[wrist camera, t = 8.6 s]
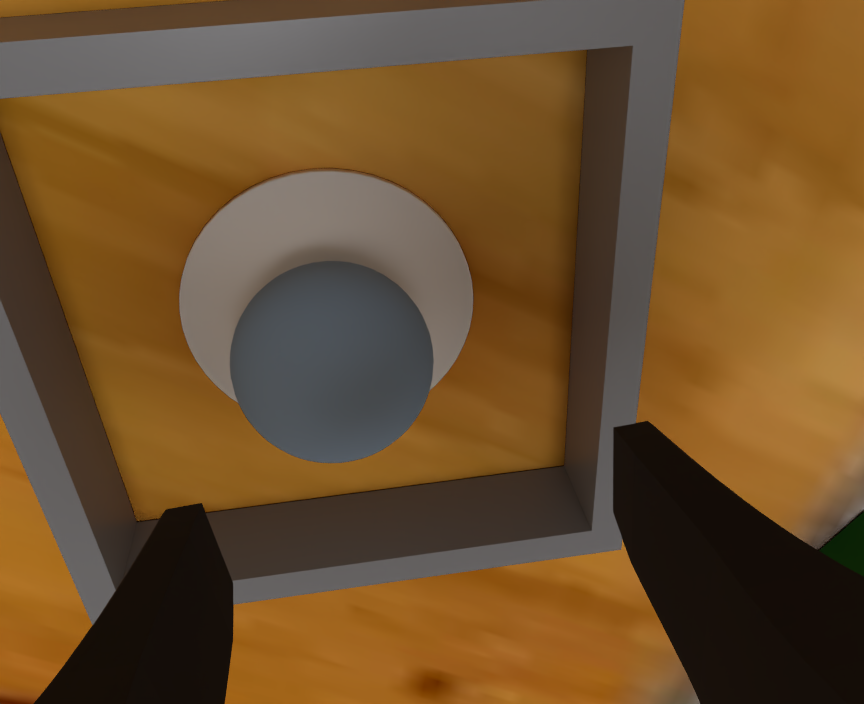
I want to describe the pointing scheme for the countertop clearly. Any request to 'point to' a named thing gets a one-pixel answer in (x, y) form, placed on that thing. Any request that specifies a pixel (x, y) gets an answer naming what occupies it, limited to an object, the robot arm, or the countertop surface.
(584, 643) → the countertop surface
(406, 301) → the ball
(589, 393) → the grey square frame
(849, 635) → the robot arm
